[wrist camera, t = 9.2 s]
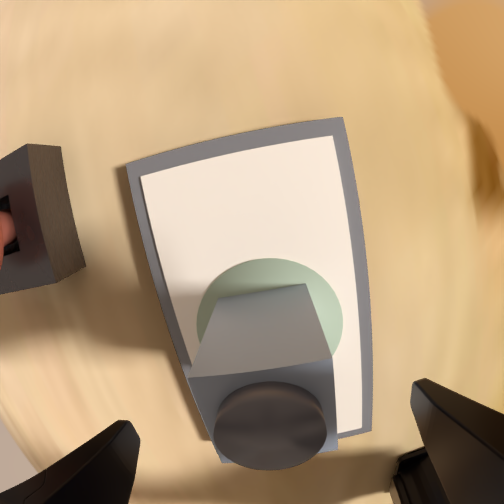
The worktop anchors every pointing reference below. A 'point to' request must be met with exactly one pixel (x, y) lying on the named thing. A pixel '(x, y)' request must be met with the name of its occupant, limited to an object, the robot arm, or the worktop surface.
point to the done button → (6, 231)
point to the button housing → (37, 219)
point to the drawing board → (262, 240)
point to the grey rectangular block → (266, 380)
